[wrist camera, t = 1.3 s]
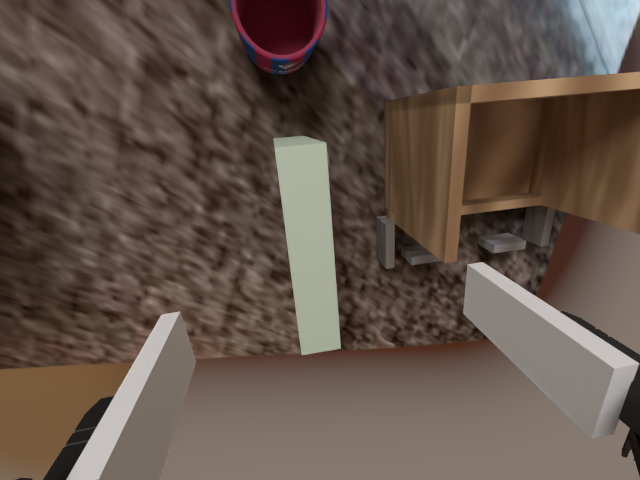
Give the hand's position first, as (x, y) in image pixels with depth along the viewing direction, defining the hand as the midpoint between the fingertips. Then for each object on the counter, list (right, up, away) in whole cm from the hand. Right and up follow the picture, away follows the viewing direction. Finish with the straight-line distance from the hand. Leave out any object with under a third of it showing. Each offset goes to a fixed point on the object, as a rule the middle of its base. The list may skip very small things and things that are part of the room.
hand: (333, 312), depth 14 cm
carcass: (+15, +10, +21) cm, 28 cm away
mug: (-5, +23, +13) cm, 27 cm away
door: (-3, +7, +19) cm, 21 cm away
